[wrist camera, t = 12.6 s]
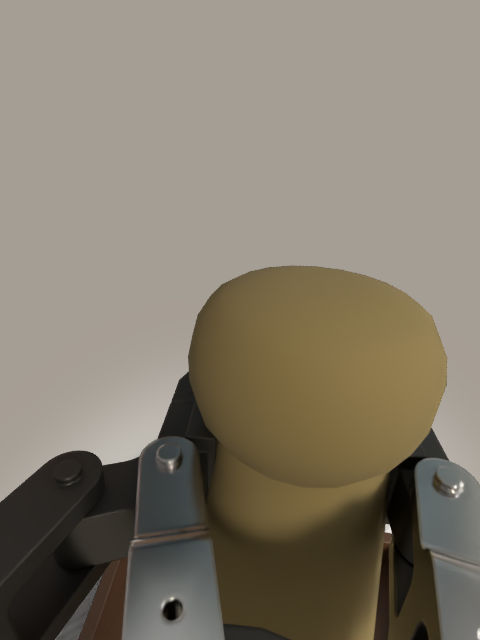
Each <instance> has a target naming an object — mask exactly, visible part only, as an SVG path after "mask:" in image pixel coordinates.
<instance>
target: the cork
mask: <svg viewBox="0 0 480 640" xmlns="http://www.w3.org/2000/svg"><path fill="white" fill-rule="evenodd" d="M188 360H189V381H190V384H191V387H192V390H193V393H194V396H195V399H196V402H197V405H198V407H199V410H200V413H201V415H202V418H203V421H204V423H205V426H206V427H207V428H208V430H209V431H210V432H211V433H212V434H213V435H214V436H215V437H216V457H215V464H214V469H213V474H212V479H211V483H210V488H209V493H208V498H207V503H206V513H207V521H208V528H210V529H211V534H212V541H213V549H214V557H215V565H216V573H217V581H218V589H219V597H220V605H221V613H222V621H223V623H224V624H233V625H242V626H252V627H261V628H265V629H267V630H269V631H272V632H274V633H276V634H279V635H281V636H284V637H286V638H288V639H291V640H373V639H374V630H375V620H376V610H377V601H378V591H379V581H380V571H381V562H382V552H383V542H384V533H385V523H386V512H387V501H388V489H389V477H390V471H391V470H392V469H393V468H395V467H396V466H397V465H399V464H400V463H401V462H402V461H404V460H405V459H406V458H408V457H409V456H410V455H411V454H413V452H414V451H415V450H416V449H417V447H418V446H419V445H420V444H421V442H422V441H423V440H424V439H425V438H426V436H427V435H428V434H429V432H430V429H431V426H432V424H433V421H434V418H435V415H436V413H437V410H438V407H439V405H440V401H441V399H442V396H443V393H444V391H445V388H446V385H447V356H446V353H445V351H444V348H443V345H442V342H441V339H440V336H439V334H438V331H437V328H436V326H435V323H434V320H433V318H432V316H431V315H430V314H429V313H428V312H427V311H426V310H425V309H424V308H423V307H422V306H421V305H420V304H419V303H417V302H416V301H415V300H414V299H412V298H411V297H410V296H408V295H407V294H406V293H404V292H402V291H401V290H399V289H397V288H395V287H393V286H391V285H389V284H388V283H385V282H382V281H380V280H377V279H374V278H371V277H368V276H365V275H362V274H357V273H352V272H348V271H344V270H339V269H330V268H323V267H314V266H281V267H269V268H264V269H260V270H255V271H250V272H248V273H246V274H243V275H241V276H239V277H237V278H235V279H232V280H230V281H228V282H226V283H224V284H222V285H221V286H220V287H219V288H218V289H217V290H216V291H215V292H214V293H213V294H212V295H211V296H210V298H209V299H208V300H207V302H206V304H205V305H204V306H203V308H202V310H201V311H200V312H199V314H198V316H197V320H196V324H195V328H194V332H193V336H192V340H191V346H190V351H189V355H188Z"/></svg>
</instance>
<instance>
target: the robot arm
mask: <svg viewBox="0 0 480 640" xmlns="http://www.w3.org/2000/svg"><path fill="white" fill-rule="evenodd" d="M215 457H216V437H215V436H214V435H213V434H212V433H211V432H210V431H209V430H208V428H207V427H206V426H205V423H204V421H203V418H202V415H201V413H200V410H199V407H198V405H197V402H196V399H195V396H194V393H193V390H192V387H191V384H190V381H189V372H188V373H187V374H186V375H184V376H183V377H182V378H181V379H180V380H179V382H178V385H177V388H176V390H175V394H174V396H173V399H172V402H171V404H170V406H169V409H168V412H167V415H166V417H165V420H164V423H163V425H162V428H161V431H160V433H159V436H158V439H157V440H155V441H153V442H151V443H150V444H148V445H147V446H146V447H145V448H144V449H143V451H142V452H141V454H140V457H137V458H135V459H132V460H129V461H125V462H120V463H115V464H108V465H103V466H102V463H101V460H100V459H99V458H98V457H97V456H96V455H94V454H93V453H90V452H87V451H71V452H67V453H63V454H61V455H58V456H56V457H54V458H53V459H51V460H49V461H48V462H47V463H46V464H44V465H43V466H42V467H41V468H40V469H38V470H37V471H36V472H35V473H34V474H33V475H32V476H30V477H29V478H28V479H27V480H26V481H25V482H24V483H22V484H21V485H20V486H19V487H18V488H17V489H15V490H14V491H13V492H12V493H11V494H10V495H8V496H7V497H6V498H5V499H4V500H3V501H1V502H0V640H55V638H56V637H57V636H58V634H59V633H60V631H61V630H62V629H63V627H64V626H65V625H66V623H67V622H68V621H69V619H70V618H71V616H72V615H73V614H74V612H75V611H76V610H77V608H78V607H79V605H80V604H81V603H82V601H83V600H84V599H85V597H86V596H87V595H88V593H89V592H90V590H91V589H92V588H93V586H94V585H95V584H96V582H97V581H98V580H99V578H100V577H101V575H102V574H103V573H104V571H105V570H106V569H107V567H108V566H109V564H110V563H111V561H116V560H120V559H124V558H128V564H127V577H126V590H125V603H124V616H123V629H122V640H291V639H288V638H286V637H284V636H281V635H279V634H276V633H274V632H272V631H269V630H267V629H265V628H261V627H252V626H242V625H233V624H224V623H223V621H222V613H221V605H220V597H219V589H218V581H217V573H216V565H215V557H214V549H213V541H212V534H211V529H210V528H208V521H207V513H206V503H207V498H208V493H209V488H210V483H211V479H212V474H213V469H214V464H215ZM385 524H390V527H391V530H392V534H393V535H392V538H391V541H390V544H389V634H388V640H480V485H479V483H478V481H477V480H476V479H475V478H474V477H473V476H472V475H471V474H470V473H469V472H468V471H467V470H465V469H464V468H462V467H461V466H459V465H457V464H455V463H452V462H450V461H449V459H448V458H447V456H446V454H445V452H444V451H443V448H442V446H441V445H440V443H439V441H438V439H437V437H436V435H435V433H434V432H433V430H432V428H431V429H430V432H429V434H428V435H427V436H426V438H425V439H424V440H423V441H422V442H421V444H420V445H419V446H418V447H417V449H416V450H415V451H414V452H413V454H411V455H410V456H409V457H408V458H406V459H405V460H404V461H402V462H401V463H400V464H399V465H397V466H396V467H395V468H393V469H392V470H391V471H390V477H389V489H388V501H387V512H386V523H385Z"/></svg>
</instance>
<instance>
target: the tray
mask: <svg viewBox="0 0 480 640" xmlns="http://www.w3.org/2000/svg"><path fill="white" fill-rule="evenodd" d="M392 535H393V534H390V533H384V542H383V552H382V562H381V571H380V581H379V591H378V601H377V610H376V620H375V630H374V639H373V640H388V634H389V544H390V541H391V538H392ZM127 564H128V558H124V559H120V560H116V561H111V563H110V564H109V566H108V567H107V569H106V570H105V571H104V573H103V575H102V578H101V581H100V583H99V586H98V589H97V591H96V594H95V597H94V599H93V602H92V605H91V607H90V610H89V613H88V615H87V618H86V621H85V623H84V626H83V629H82V631H81V634H80V637H79V639H78V640H122V629H123V616H124V603H125V590H126V577H127Z"/></svg>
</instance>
